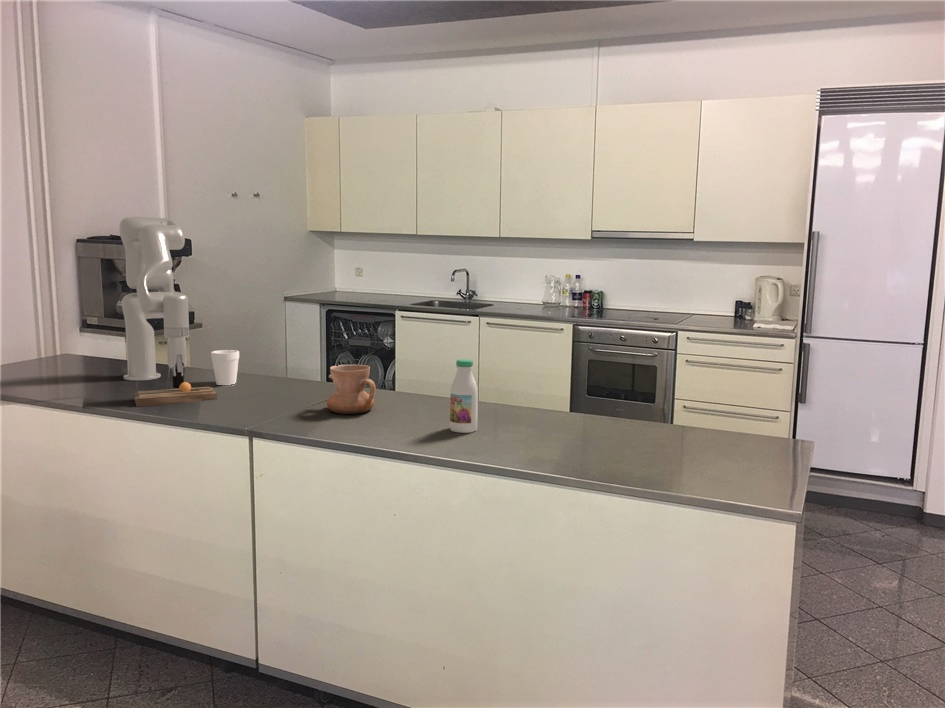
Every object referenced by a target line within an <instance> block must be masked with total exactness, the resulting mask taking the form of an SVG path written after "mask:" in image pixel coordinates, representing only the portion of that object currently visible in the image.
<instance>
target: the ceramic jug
mask: <svg viewBox="0 0 945 708" xmlns="http://www.w3.org/2000/svg"><path fill="white" fill-rule="evenodd" d="M329 371H330V374H329V375H328V378H329V379H331V380H332V382H333V385H334V387H335V389H336V391H335V392H334V393H333V394H332V395H330V396H329V397H328V398H327V400H326V406H327V408H328V409H329V411H331V412H333V413H337V414H341V415H357V414H363V413H366V412H368V411H370V410H371V409H373V407H374V406H375V399H374V397H375V395H376V384H375V382H374V381H373V380H372V379H370V378H369V377H370V371H371V366H369V365H364V364H338V366H337V365H333V366H330V367H329ZM367 384H368V385H369V393H367V392H366V391H365V389H366V386H367Z"/></svg>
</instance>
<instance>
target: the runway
mask: <svg viewBox="0 0 945 708" xmlns="http://www.w3.org/2000/svg"><path fill="white" fill-rule="evenodd" d="M217 394H218V393H217V392H216V391H215V389H214V388H213V387H212V386H202V387H191V390H190V391H189V392H181V391H180V389H179V388H172V389H171V388H170V389H156V390H154V389H153V390H140V391H135V392H134V402H135V405H136V407H137V408H138V407H152V406H153V407H154V406H163V405H164V406H165V405H173V404H174V403H176V404H182V403H194V402H204V401H212V400H213V401H214V400H215V401H216V400H217V399H218V395H217ZM174 405H175V404H174Z"/></svg>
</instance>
